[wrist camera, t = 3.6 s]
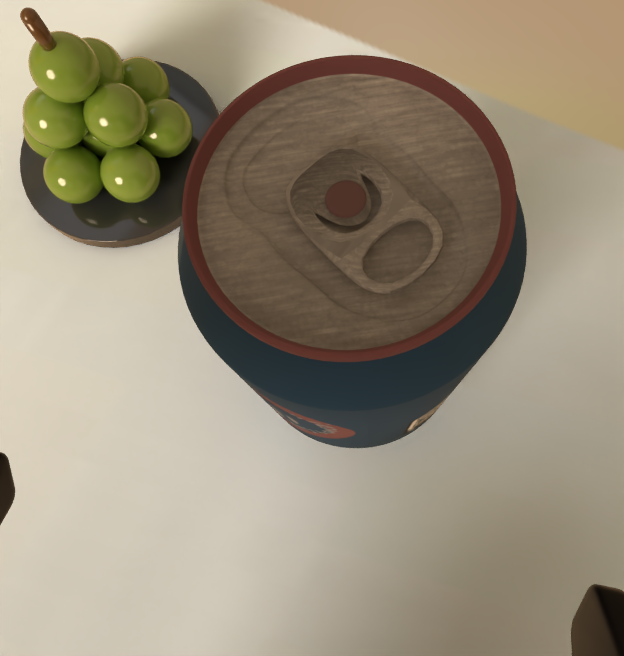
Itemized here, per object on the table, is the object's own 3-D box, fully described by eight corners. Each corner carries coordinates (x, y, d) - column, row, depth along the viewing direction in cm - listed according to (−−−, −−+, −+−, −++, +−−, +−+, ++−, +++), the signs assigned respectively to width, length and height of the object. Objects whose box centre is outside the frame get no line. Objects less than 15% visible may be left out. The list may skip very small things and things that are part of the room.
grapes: (147, 284, 23) (47, 186, 16) (-13, 190, 25) (-170, 61, 18) (264, 118, 25) (222, -42, 17) (106, 39, 26) (7, -135, 19)
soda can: (222, 347, 22) (70, 189, 11) (360, 229, 23) (357, -38, 11) (349, 493, 20) (329, 492, 9) (493, 359, 21) (648, 199, 10)
